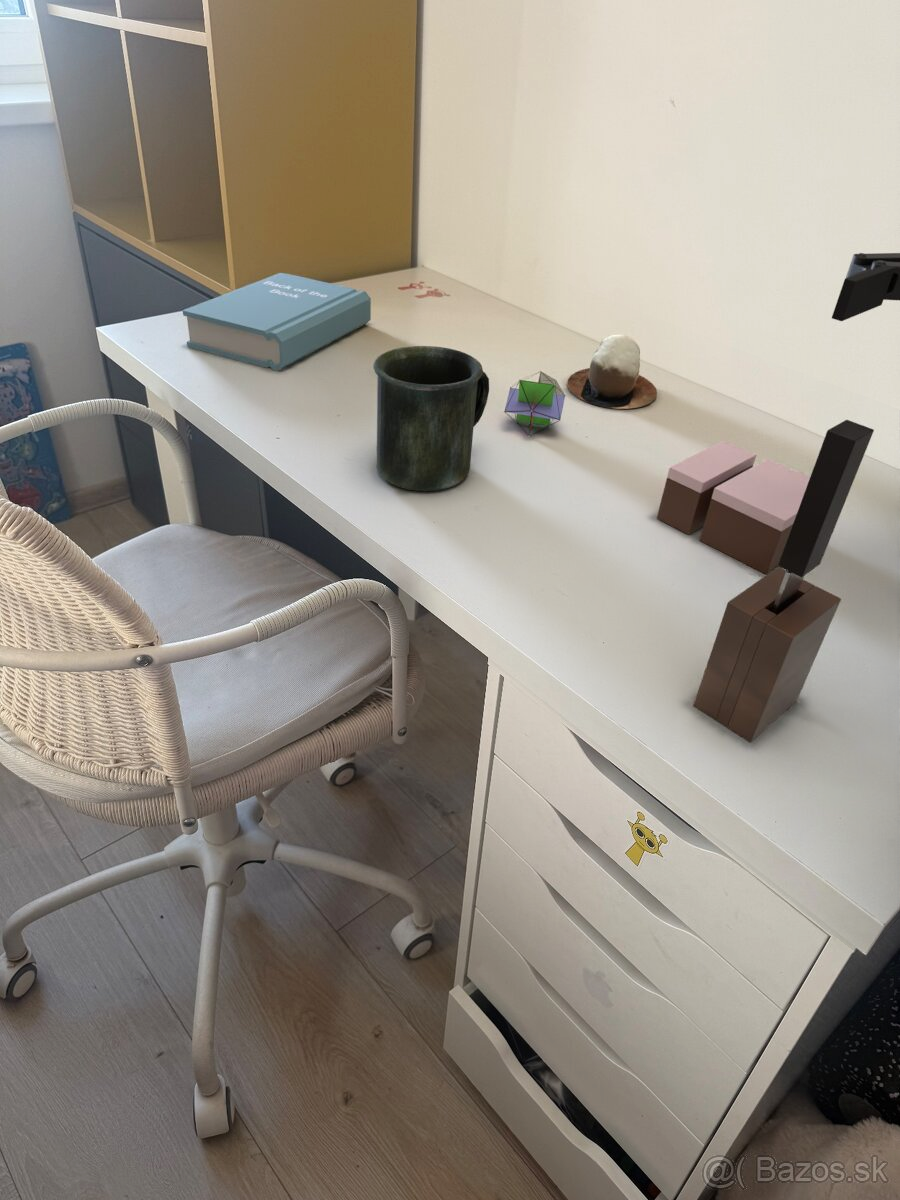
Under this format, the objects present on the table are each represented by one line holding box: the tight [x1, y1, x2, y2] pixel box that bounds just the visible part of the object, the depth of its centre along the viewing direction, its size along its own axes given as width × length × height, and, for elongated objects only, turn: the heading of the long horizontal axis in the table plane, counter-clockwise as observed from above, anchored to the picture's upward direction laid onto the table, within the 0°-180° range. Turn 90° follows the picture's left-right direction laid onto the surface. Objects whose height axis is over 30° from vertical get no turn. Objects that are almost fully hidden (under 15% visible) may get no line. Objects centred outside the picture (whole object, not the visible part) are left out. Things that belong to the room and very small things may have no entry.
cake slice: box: [656, 440, 757, 536], centre depth 86 cm, size 4×10×6 cm, turn 133°
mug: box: [372, 345, 490, 492], centre depth 88 cm, size 11×15×12 cm
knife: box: [771, 419, 875, 615], centre depth 57 cm, size 2×3×23 cm, turn 133°
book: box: [182, 272, 372, 372], centre depth 119 cm, size 23×16×5 cm
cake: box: [699, 458, 811, 575], centre depth 82 cm, size 8×10×6 cm
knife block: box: [693, 566, 842, 743], centre depth 61 cm, size 5×7×10 cm
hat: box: [566, 334, 658, 410], centre depth 111 cm, size 12×10×10 cm
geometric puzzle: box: [503, 370, 567, 437], centre depth 99 cm, size 7×7×8 cm
